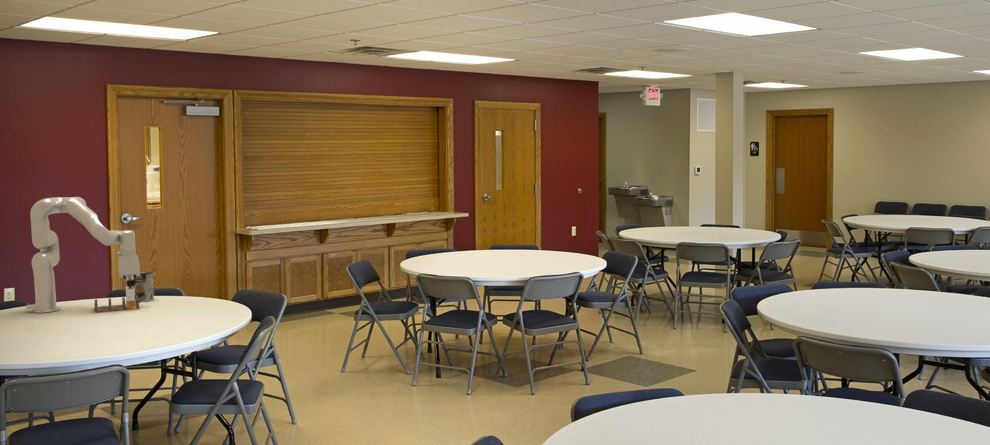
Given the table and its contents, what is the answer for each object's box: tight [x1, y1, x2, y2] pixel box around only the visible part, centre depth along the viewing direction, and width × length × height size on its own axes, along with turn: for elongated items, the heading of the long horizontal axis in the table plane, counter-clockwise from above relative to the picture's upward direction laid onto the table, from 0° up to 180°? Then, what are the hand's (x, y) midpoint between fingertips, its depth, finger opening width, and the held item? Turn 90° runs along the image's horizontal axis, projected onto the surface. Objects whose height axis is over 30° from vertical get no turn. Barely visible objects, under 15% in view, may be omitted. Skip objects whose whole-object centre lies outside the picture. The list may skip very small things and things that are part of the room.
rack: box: [94, 296, 140, 314], centre depth 445 cm, size 21×15×5 cm
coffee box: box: [133, 271, 155, 303], centre depth 469 cm, size 9×6×16 cm
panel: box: [125, 285, 136, 304], centre depth 448 cm, size 4×11×10 cm, turn 25°
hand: (130, 287), depth 448 cm, fingers closed
